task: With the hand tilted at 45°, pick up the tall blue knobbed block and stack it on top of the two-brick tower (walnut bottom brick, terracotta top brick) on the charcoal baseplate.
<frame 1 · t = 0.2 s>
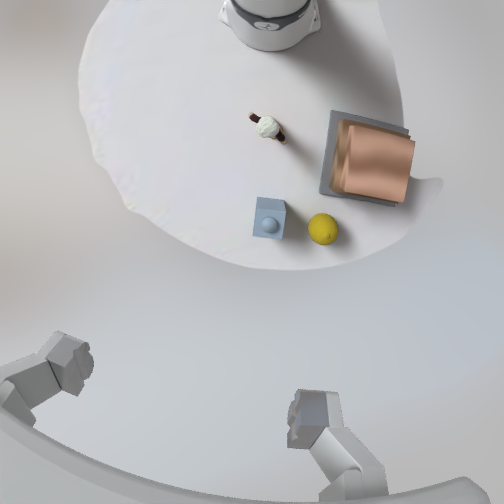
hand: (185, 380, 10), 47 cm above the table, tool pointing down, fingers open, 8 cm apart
baseplate: (364, 159, 51), on the table
grandmother figurine: (268, 126, 50), on the table
lemon: (319, 221, 56), on the table
blue knobbed block: (268, 210, 56), on the table
brick tower: (373, 162, 46), on the baseplate, point 5 cm above the table
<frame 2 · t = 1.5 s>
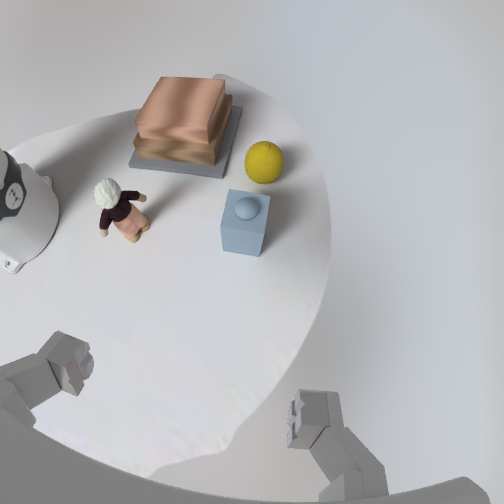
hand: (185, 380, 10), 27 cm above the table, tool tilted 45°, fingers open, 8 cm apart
baseplate: (187, 135, 47), on the table
grandmother figurine: (135, 232, 40), on the table
lemon: (261, 179, 45), on the table
blue knobbed block: (244, 237, 41), on the table
brick tower: (184, 115, 42), on the baseplate, point 5 cm above the table
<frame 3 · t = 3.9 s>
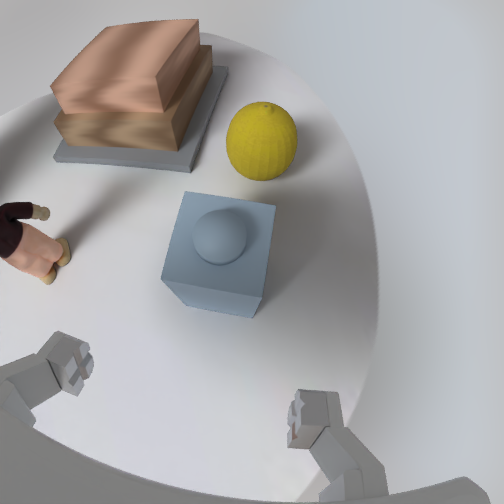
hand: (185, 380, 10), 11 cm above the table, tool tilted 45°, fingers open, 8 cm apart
baseplate: (143, 109, 28), on the table
grandmother figurine: (51, 266, 22), on the table
lemon: (257, 172, 26), on the table
blue knobbed block: (225, 280, 22), on the table
brick tower: (133, 76, 23), on the baseplate, point 5 cm above the table
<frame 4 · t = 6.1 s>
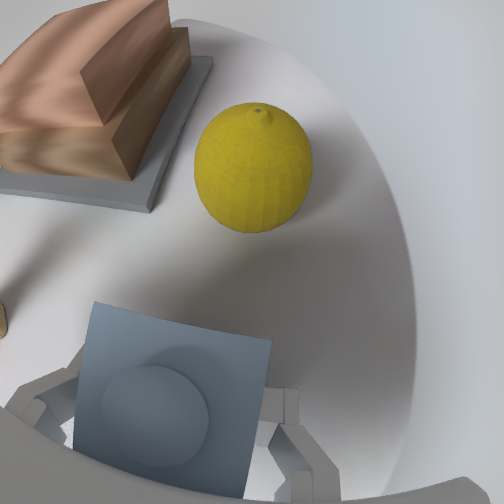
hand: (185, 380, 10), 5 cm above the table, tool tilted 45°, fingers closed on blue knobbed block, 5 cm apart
baseplate: (98, 118, 20), on the table
lemon: (248, 212, 18), on the table
blue knobbed block: (198, 383, 14), on the table, touching gripper
brick tower: (78, 74, 15), on the baseplate, point 5 cm above the table
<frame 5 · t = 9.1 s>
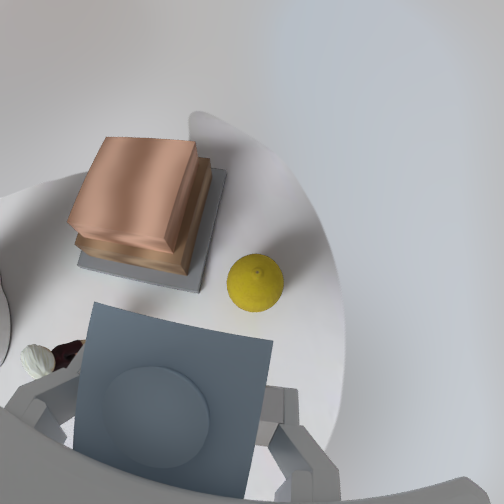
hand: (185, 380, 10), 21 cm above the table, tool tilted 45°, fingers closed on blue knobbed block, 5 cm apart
baseplate: (151, 219, 35), on the table
grandmother figurine: (94, 363, 29), on the table
lemon: (253, 292, 32), on the table
blue knobbed block: (199, 384, 14), point 16 cm above the table, touching gripper
brick tower: (140, 199, 30), on the baseplate, point 5 cm above the table
when the fingers open (15 cm above the table, at t = 12.2 s): blue knobbed block drops 1 cm, resting on brick tower.
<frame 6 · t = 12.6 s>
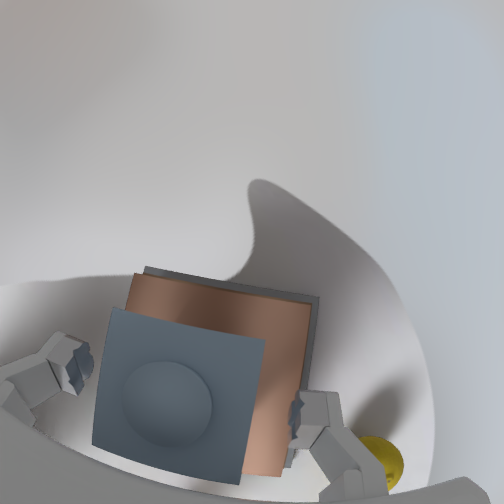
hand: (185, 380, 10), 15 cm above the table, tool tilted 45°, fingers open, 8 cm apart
baseplate: (214, 371, 24), on the table
lemon: (350, 453, 21), on the table
blue knobbed block: (201, 379, 15), point 9 cm above the table, touching brick tower
brick tower: (209, 376, 19), on the baseplate, point 5 cm above the table
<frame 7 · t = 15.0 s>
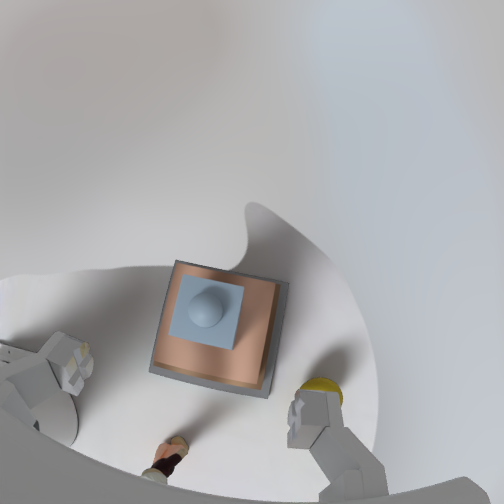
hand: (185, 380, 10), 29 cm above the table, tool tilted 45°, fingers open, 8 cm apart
baseplate: (219, 329, 38), on the table
grandmother figurine: (172, 451, 32), on the table
lemon: (310, 394, 36), on the table
blue knobbed block: (213, 321, 29), point 9 cm above the table, touching brick tower
brick tower: (216, 326, 33), on the baseplate, point 5 cm above the table
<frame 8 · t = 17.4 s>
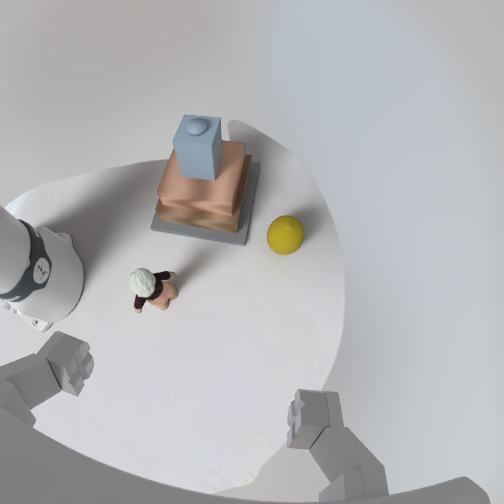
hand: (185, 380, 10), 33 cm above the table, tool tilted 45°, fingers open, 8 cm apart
baseplate: (207, 196, 50), on the table
grandmother figurine: (163, 299, 44), on the table
lemon: (281, 245, 48), on the table
blue knobbed block: (202, 165, 42), point 9 cm above the table, touching brick tower
brick tower: (204, 180, 45), on the baseplate, point 5 cm above the table
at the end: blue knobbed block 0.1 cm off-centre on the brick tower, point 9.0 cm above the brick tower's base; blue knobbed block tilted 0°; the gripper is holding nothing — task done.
